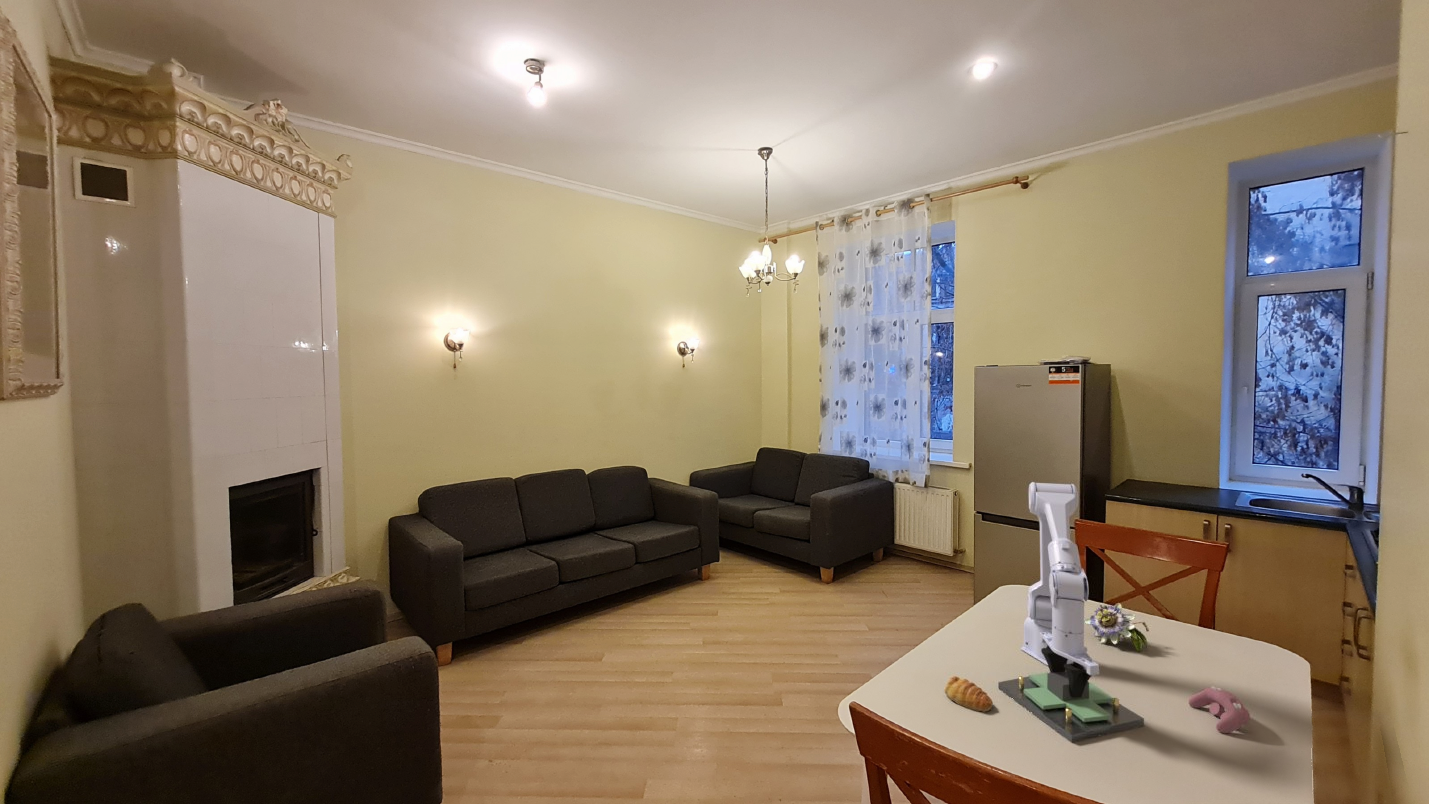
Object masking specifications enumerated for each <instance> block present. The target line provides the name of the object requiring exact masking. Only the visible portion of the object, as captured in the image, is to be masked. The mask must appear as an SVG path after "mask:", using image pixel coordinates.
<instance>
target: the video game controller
mask: <svg viewBox="0 0 1429 804" xmlns="http://www.w3.org/2000/svg"><path fill="white" fill-rule="evenodd" d="M1188 699H1189V700H1188V705H1189V706H1190V707H1191V708H1195V709H1199V708H1203V707H1206V706H1209V712H1210V713H1211V714H1212V715H1214V716H1215V717H1217V718H1220V720H1218V722H1217V723H1216V727H1215V728H1216V730H1217V732H1219V733H1222V734H1229V733H1233V732H1235V731H1237V730H1239V729H1240V728H1241V727H1243V726H1245V725H1247V724H1248V723H1249V722H1250V719H1251V715H1250V712H1249V710H1248V709H1247V708H1246V707H1245V706H1244V704H1243V703H1242V702H1241V700H1240V699H1239V698H1238V697H1237V696H1236V695H1233V694H1232V693H1231V692H1228V691H1226V690H1224V689H1223V688H1219V687H1215V686H1214V685H1212V686H1210V687H1209V686H1207V687H1206V688H1204V689H1203V690H1201V691H1200V692H1198V693H1196V694H1194V695H1192V696H1191V697H1189V698H1188ZM1225 710H1226V711H1225Z"/></svg>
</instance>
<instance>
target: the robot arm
mask: <svg viewBox="0 0 1429 804" xmlns="http://www.w3.org/2000/svg"><path fill="white" fill-rule="evenodd" d="M1078 506H1079V492H1078V488H1077V486H1076V484H1074V483H1070V484H1066V483H1049V482H1048V483H1045V482H1044V483H1043V482H1034V481H1032V482H1031V483H1030V484H1029V485H1028V510H1029V513H1030V514H1033V515H1035V516H1036V517H1037V519H1038V523H1039V557H1040V559H1039V562H1040V563H1039V565H1040V567H1039V569H1040V574H1039V575H1040V579H1039V581H1037V582H1035V583H1033V584H1031V585H1030V586H1029V588H1028V589H1027V602H1026V603H1027V606H1026V607H1027V608H1026V609H1027V615H1028V616H1027V617H1026V618H1025V620H1024V623H1023V646H1021V647H1020V650H1021V651H1022V652H1025V653H1026V654H1027V655H1030V656H1031V657H1033V658H1034V659H1036V660H1038V661H1039V662H1041V663H1043V664H1044V665H1046V666H1047V667H1048V669H1049V672H1050V673H1056V672H1065V671H1066V672H1067V675H1068V680H1069V691H1070V695H1071V697H1072V698H1079V697H1082V694H1083V691H1084V689H1085V686H1086V684H1087V682H1089V680H1090V679H1091V678H1092V677H1093V676H1096V675H1100V665H1099V664H1098V663H1097V662H1095V660H1093V659H1092V657H1091V656H1090V655H1089V654H1088V653H1087V652H1088V647H1087V646H1084V645H1085V623H1084V621H1085V602H1087V601H1088V600H1089V594H1090V593H1089V582H1088V577H1087V575H1086V573H1085V570H1084V568H1082V564H1081V559H1080V558H1081V557H1080V553H1079V549H1078V548H1079V547H1078V545H1077V544H1076V543H1075V542H1073V541H1071V529H1070V528H1071V527H1070V517H1071V516H1072V515H1073V514H1075V511H1076V510H1077V508H1078Z"/></svg>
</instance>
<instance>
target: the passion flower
mask: <svg viewBox="0 0 1429 804" xmlns="http://www.w3.org/2000/svg"><path fill="white" fill-rule="evenodd" d="M1102 605H1103V606H1102ZM1122 606H1123V604H1121V603H1120V602H1118V603H1115V605H1106V604H1099V607H1097V608H1096V610H1094V612H1095V614H1094V615H1093V614H1092V615H1090V618H1088V619H1084V625H1085V624H1086V625H1087V626H1092V628H1093V630H1095V632H1094V634H1093V635H1094V637H1095V638H1096V637H1097V638H1100V644H1106V643H1108V642H1109V639H1110V641H1111V643H1113V644H1114V645H1118V644H1119V642H1120V637H1121V636H1122V637H1123V638H1124V639H1126V638H1130V639H1131V641H1132V644H1133V646H1134V648H1135V649H1136V650H1137V651H1139V653H1141V652H1142V650H1143V644H1144V646H1145V648H1146V649H1148V641H1147V638H1146V636H1145V635H1144V634H1143V632H1142V631H1140V630H1139V629H1138V628H1136V626H1135V625H1136V624H1142V625H1143V627H1145V630H1146V632H1149V631H1150V629H1149V628H1148V624H1146V622H1145V621H1140V622H1133V623H1131V621H1133V620H1135V619H1136V617H1137V616H1136V614H1132V613H1127V614H1126V613H1123V612H1122V609H1123V607H1122ZM1142 642H1143V643H1142Z"/></svg>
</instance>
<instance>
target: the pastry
mask: <svg viewBox="0 0 1429 804" xmlns="http://www.w3.org/2000/svg"><path fill="white" fill-rule="evenodd" d="M944 693H945V695H946V696H947V697H948V699H949V700H950V701H954V702H955V703H956V704H957V705H960V706H962V707H963V706H964V707H965V708H967V707H968V708H967V709H971V710H973V711H977V712H980V711H981V712H983V713H984V712H985V713H986V712H988V711H989V710H991V709H992V706H993V704H994V702H993V700H992V699H991V698H990V696H989V695H988V693H986V692H985V691H983V689H982V688H981V687H979V686H977V685H976V684H975V683H974V682H972V681H971V682H970V681H969V680H968V679H967V678H962V679H961V678H960V677H959V676H956V675H954V676H952V677H950V678H949V680H948V681H947V682H946V684H945V687H944Z"/></svg>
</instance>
